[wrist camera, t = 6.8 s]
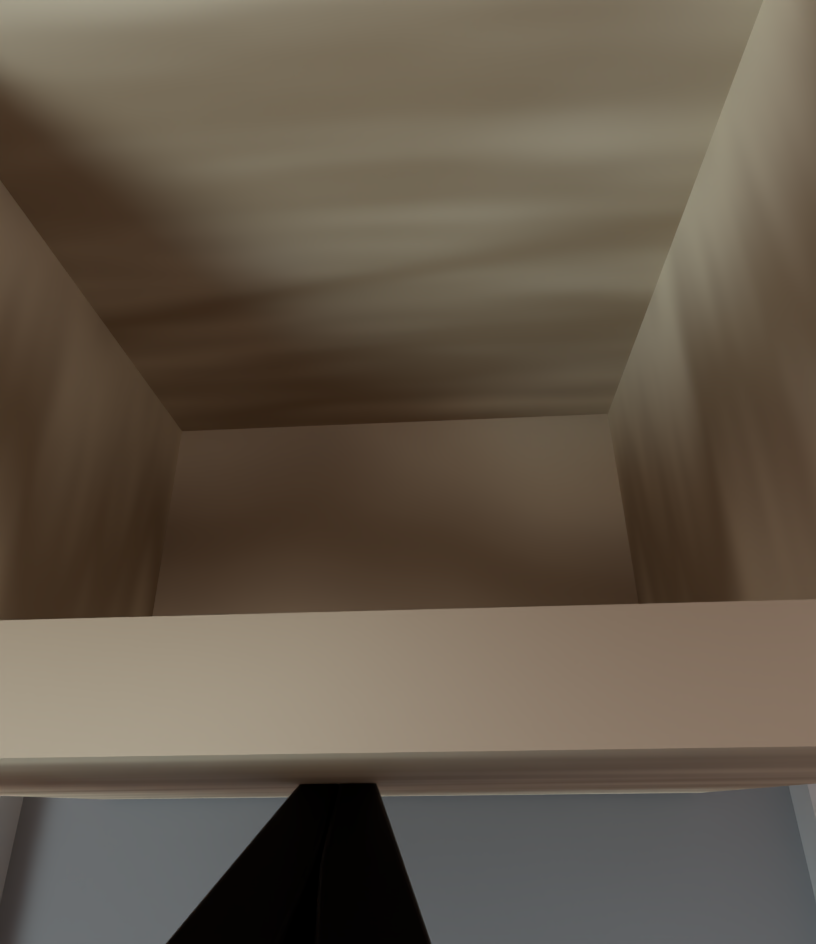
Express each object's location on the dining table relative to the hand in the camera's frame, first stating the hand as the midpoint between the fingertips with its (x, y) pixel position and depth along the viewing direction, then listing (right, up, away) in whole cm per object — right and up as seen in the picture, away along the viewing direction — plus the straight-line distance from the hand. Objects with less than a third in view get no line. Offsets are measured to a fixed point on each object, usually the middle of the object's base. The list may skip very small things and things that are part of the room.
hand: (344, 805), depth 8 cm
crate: (0, +1, +8) cm, 8 cm away
